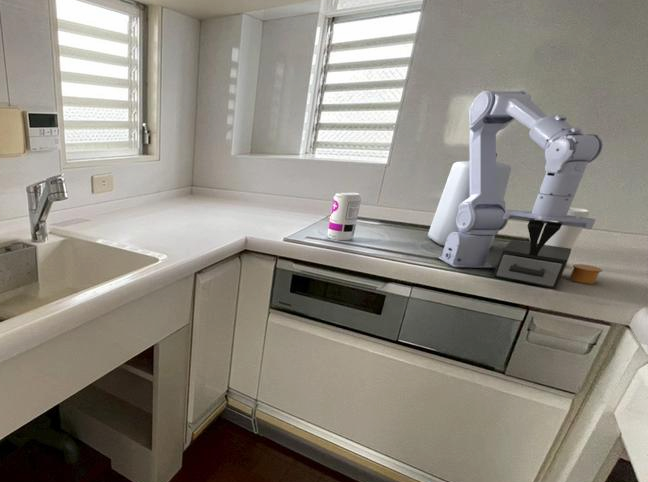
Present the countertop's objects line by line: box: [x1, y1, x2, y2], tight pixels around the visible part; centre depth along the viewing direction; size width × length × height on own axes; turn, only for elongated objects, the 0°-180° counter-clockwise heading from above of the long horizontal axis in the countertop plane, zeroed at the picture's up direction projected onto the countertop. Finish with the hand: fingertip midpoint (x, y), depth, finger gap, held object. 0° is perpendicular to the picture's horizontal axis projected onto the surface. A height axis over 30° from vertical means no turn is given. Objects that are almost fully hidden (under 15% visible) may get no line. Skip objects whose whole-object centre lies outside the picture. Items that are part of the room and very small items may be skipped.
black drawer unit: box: [492, 239, 572, 290], centre depth 101 cm, size 14×12×7 cm
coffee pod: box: [569, 263, 603, 285], centre depth 98 cm, size 5×5×3 cm
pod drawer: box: [496, 254, 562, 286], centre depth 98 cm, size 17×10×5 cm, turn 133°
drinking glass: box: [544, 207, 590, 250], centre depth 109 cm, size 7×7×15 cm
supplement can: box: [327, 191, 362, 241], centre depth 135 cm, size 8×8×15 cm
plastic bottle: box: [427, 152, 512, 248], centre depth 126 cm, size 15×15×28 cm
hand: (533, 254), depth 92 cm, fingers closed
